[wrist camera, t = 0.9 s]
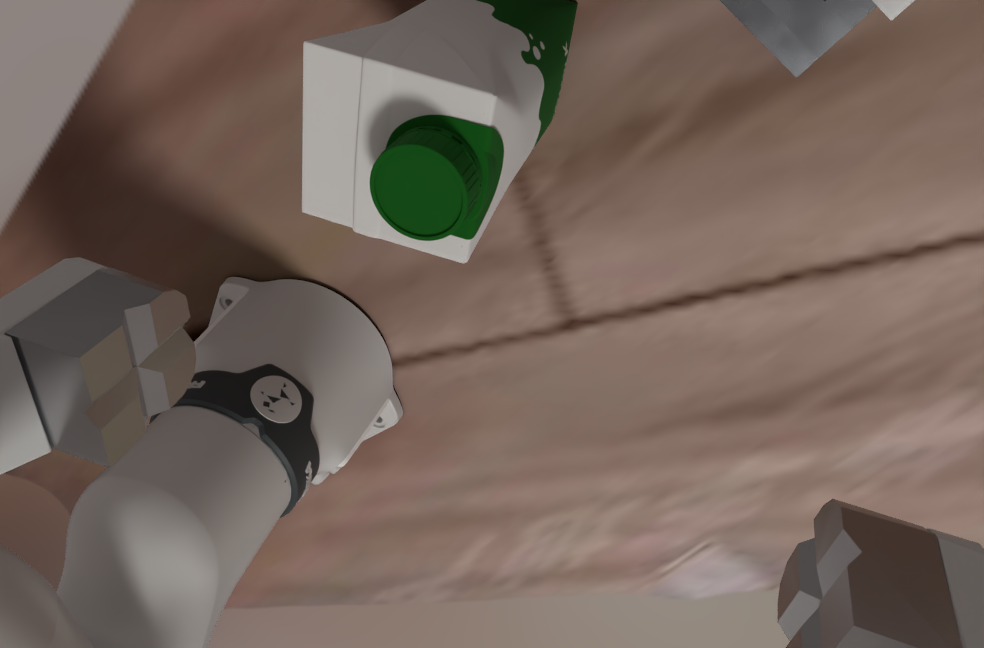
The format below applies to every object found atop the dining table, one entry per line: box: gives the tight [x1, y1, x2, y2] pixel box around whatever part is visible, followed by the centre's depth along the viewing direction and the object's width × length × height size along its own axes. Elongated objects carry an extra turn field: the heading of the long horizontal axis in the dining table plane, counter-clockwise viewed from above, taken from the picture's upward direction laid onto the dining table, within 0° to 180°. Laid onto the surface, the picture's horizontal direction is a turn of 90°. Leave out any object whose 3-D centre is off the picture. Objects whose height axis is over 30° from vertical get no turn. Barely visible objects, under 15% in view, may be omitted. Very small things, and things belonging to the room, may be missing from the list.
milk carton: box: [302, 0, 578, 263], centre depth 35 cm, size 9×9×20 cm
